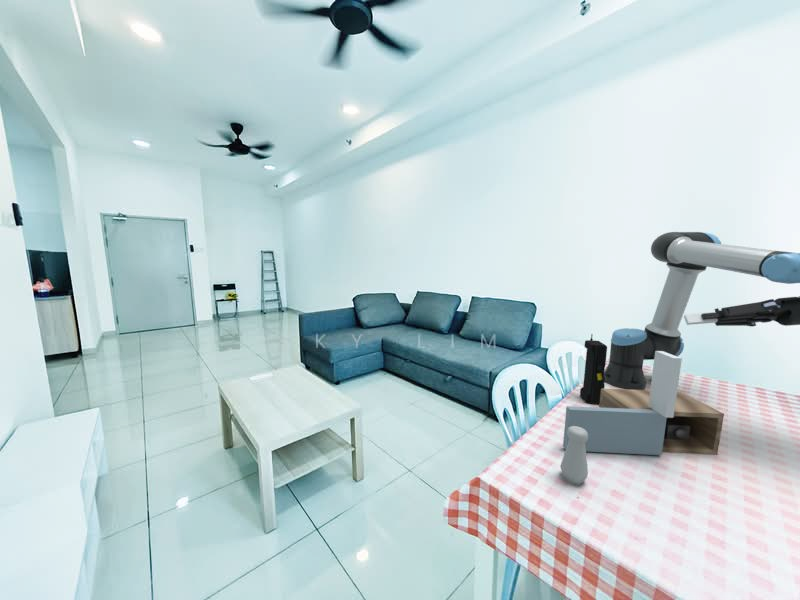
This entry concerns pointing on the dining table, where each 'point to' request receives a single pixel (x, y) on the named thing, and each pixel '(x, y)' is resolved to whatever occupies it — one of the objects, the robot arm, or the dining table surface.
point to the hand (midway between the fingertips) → (686, 319)
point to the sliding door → (631, 416)
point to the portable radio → (594, 371)
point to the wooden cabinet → (675, 420)
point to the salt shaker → (575, 456)
